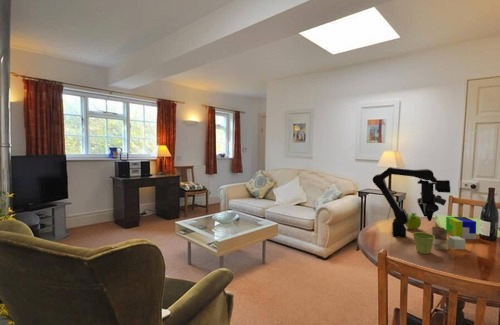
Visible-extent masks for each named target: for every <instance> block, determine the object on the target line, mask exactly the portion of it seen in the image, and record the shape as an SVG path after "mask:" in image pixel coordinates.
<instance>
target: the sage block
mask: <svg viewBox="0 0 500 325" xmlns="http://www.w3.org/2000/svg"><path fill="white" fill-rule="evenodd" d="M447 240H448V247H450V248H452V249H454V250H466V239H463V238H461V237H459V236H451V235H450V236H448V235H447Z"/></svg>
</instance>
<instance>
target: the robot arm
mask: <svg viewBox="0 0 500 325" xmlns="http://www.w3.org/2000/svg"><path fill="white" fill-rule="evenodd" d="M391 175H394V176H405V177H415V178H417V179H419V180H418V181H417V184H420V185H421V186H420V187H421V190H420V195H421V196H420V197H419V198H417V200H416V201H417V205H418V207H419V208H420V211H421V213H422V215H423V217H424V218H425V217H426V218H427V221H428V222H431V221H432V219H433V216H434V213H436V212H438V211H439V205H441V206H445V204H446V202H447V199H445V198H442V196H441V195H440V194H437V195H436V194H435V193H434V190H435V191H436V192H437V193H447V194H448V193H449V194H450V193H451V183H450V182H451V181H450V180H448V179H445V180H443V179H442V180H441V179H439V180H438V179H437V177H435V174H434V171H433V170H432V169H429V168H423V169H408V168H407V169H406V168H398V167H397V168H395V167H390V166H389V167H388V168H386V170H384V171H383V172H381V173H379V174H375V175H374V176H373V177H372V182H373V184H374V185H375V186H376V188H378V189H379V190H380V191H381V193H382V194H383V196H384V198H385V199H386V201H387V203H388V205H389V206H390V207H391V209H392V212H393V215H394V219H393V220H392V223H391V224H392V229H391V230H392V231H391V234H392V237H396V238H407V229H406V228H407V227H406V225H405V224H406V223H407V221H408V215H409V214H408V213H407V211H406V209H405V208H401V207H400V206H399V203H398V202H397V200H396V199H395V197H394V196H393V194H392V192H391V190H390V189H389V188H388V186H387V182H386V178H388V177H389V176H391ZM438 204H439V205H438Z"/></svg>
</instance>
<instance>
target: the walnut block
mask: <svg viewBox="0 0 500 325" xmlns="http://www.w3.org/2000/svg"><path fill="white" fill-rule="evenodd" d="M431 231H432V232H431V234H432V235H434V236H435V239H439V240H448V234H447V230H446V229H445V227H439V226H432V229H431Z"/></svg>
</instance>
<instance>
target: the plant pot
mask: <svg viewBox="0 0 500 325" xmlns="http://www.w3.org/2000/svg"><path fill="white" fill-rule="evenodd" d="M412 236H413V239H414V244H415V251H416V252H417V253H420V254H424V255H428V254H429V255H430V254H431V253H432V247H433V246H432V243H433V240H434V238H435V236H434V235H432V233H428V232H421V231H420V232H419V231H417V232H413V233H412Z"/></svg>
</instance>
